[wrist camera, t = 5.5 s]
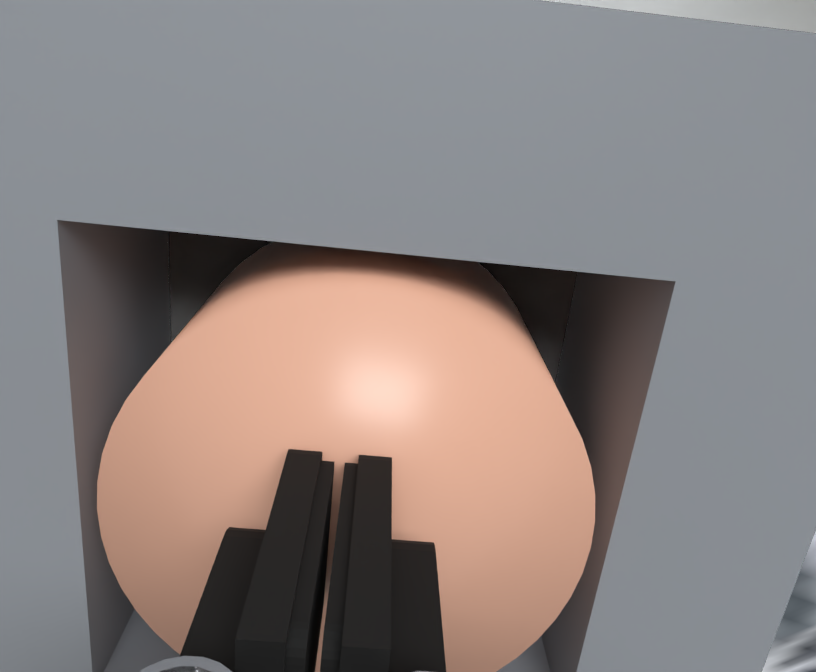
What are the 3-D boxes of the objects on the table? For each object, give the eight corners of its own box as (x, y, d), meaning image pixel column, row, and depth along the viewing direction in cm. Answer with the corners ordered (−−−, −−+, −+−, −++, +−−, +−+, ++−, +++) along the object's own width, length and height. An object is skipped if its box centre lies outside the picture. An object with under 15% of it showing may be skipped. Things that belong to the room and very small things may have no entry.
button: (566, 240, 15) (646, 320, 10) (507, 549, 17) (547, 724, 13) (185, 201, 14) (80, 266, 10) (188, 524, 17) (109, 695, 12)
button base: (794, 59, 14) (997, 55, 9) (622, 664, 20) (692, 851, 15) (-24, -36, 13) (-259, -95, 8) (46, 624, 19) (-71, 807, 14)
